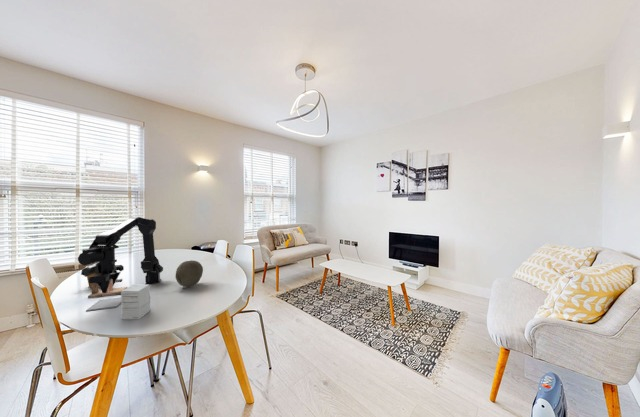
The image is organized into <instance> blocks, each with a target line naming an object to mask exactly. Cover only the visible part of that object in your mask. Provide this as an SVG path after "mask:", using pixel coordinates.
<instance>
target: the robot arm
mask: <svg viewBox="0 0 640 417" xmlns="http://www.w3.org/2000/svg"><path fill="white" fill-rule="evenodd" d="M135 227H138V231H139V232H140V233H141V235H142V242H143V244H142V245H143V253H144V254H143V255H144V258H143V260H142V261H140V269H141V270H142V272H143V274H145V277H144V278H145V279H144V280H145V284H148V285H150V284H151V285H152V284H158V283H159V282H161V280H162V278H161V273H162V272H163V271H164V267H163V266H162V265H161V264H160V261H159V259H158V258H157V256H156V254H155V240H154V232H155V231H156V229H157V222H156V220H155V219H151V218H150V219H149V218H143V217H140V216H131V217H129V218H128V219H127V220H125V221H123V222H122V223H121V224H118V225H117V226H115V227H114V228H113V229H110V230H106V231H103V232H101V233H98V234H96V236H95V238H94V239H93V241H92V243H91V244H90V246H89V247H88V249H82V252H81V253H80V254H79V255H78V257H77V261H78V263H79V264H80V265H81V266H86V267H87V266H89V265H93V264H96V266H93V267H90V268H89V267H87V268H86V267H83V268H82V269H81V272H80V275H81V276H83V277H85V278H87V276H88V275H91V274H94V273H95V275H93V276H91V277H90V278H89V279H88V280H87V284H88V283H97V284H98V285H99V287H98V288H100V290H102V292H103V293H106V292H107V289H108V287H109V284H110V282H111V279H113V287H114V286H115V284H116V283H115V282H116V280H117V279H119V278H118V277H119V276H120V275H121V272H123V271H124V270H125V269H124V268H125V267H124V265H122V264H116V262H118V260H117V259H116V255H115V254H116V253H115V252H116V249H119V248H120V247H119V246H118V245H117V243H118V242H119V241H120V240H121V238H122V236H123V235H124V234H126V233H127V232H129V231H130V230H132V229H133V228H135ZM145 284H144V285H145Z"/></svg>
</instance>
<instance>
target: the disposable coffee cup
mask: <svg viewBox="0 0 640 417" xmlns="http://www.w3.org/2000/svg"><path fill="white" fill-rule="evenodd" d="M93 266H96V263H93V264H89V265H86V266H85V268H87V267H89V268H90V267H93ZM93 275H95V273H94V274H91V275H88V276H87V277H86V278H87V281H88V279H89V278H90V277H91V276H93ZM87 284H88V287H89V288H90V289H91V283H88V282H87ZM98 288H100V287H99V285H98Z"/></svg>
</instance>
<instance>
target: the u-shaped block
mask: <svg viewBox="0 0 640 417" xmlns="http://www.w3.org/2000/svg"><path fill="white" fill-rule="evenodd" d="M113 288H114V286H113V279H111V282H110V284H109V287H108V289H107V292H106V293H103V292H102V295H106V294H108V293H109V291H112V290H113Z"/></svg>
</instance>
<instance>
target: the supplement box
mask: <svg viewBox="0 0 640 417" xmlns="http://www.w3.org/2000/svg"><path fill="white" fill-rule="evenodd" d="M150 291H151V287H150V284H132V285H131V286H127V288H126V289H124V290H122V291H121V294H120V297H121V304H120V305H121V320H140V319H141V318H142V317H143V316H145V315H146V314H148V313H149V312H150V311H151V299H150V298H151V293H150Z"/></svg>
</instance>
